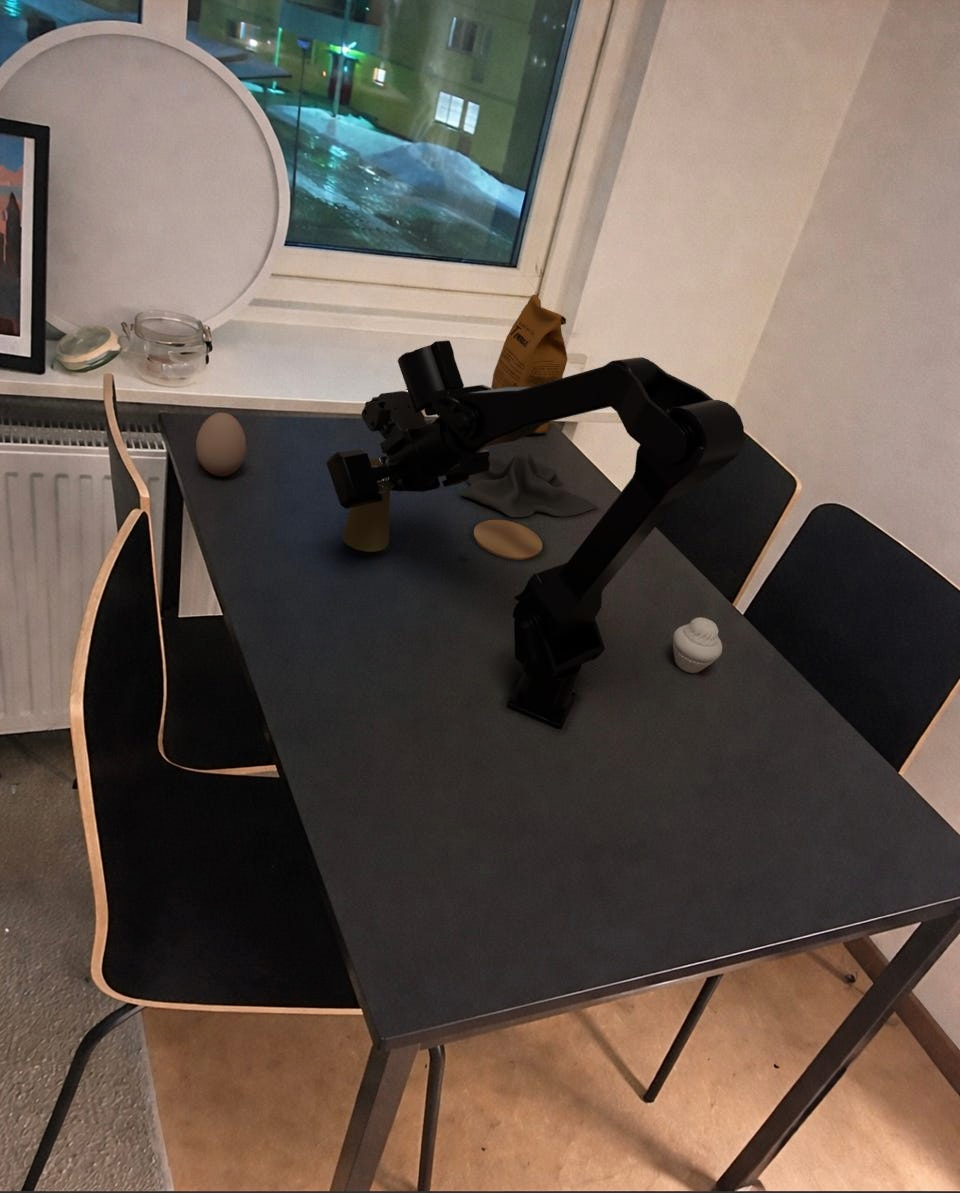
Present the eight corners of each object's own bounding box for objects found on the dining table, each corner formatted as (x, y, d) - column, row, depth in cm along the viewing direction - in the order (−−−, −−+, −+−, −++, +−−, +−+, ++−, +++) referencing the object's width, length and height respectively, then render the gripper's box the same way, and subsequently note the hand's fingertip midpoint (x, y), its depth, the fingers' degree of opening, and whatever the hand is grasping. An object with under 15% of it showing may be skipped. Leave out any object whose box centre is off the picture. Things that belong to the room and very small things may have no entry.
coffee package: (525, 409, 171) (556, 293, 159) (552, 439, 162) (586, 319, 150) (477, 406, 167) (504, 287, 155) (502, 437, 158) (533, 313, 146)
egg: (194, 461, 128) (197, 401, 123) (242, 464, 130) (247, 405, 125) (195, 484, 123) (198, 422, 118) (245, 487, 125) (250, 426, 120)
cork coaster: (529, 568, 124) (530, 565, 124) (462, 542, 126) (463, 540, 125) (550, 538, 132) (550, 536, 132) (487, 514, 134) (488, 512, 134)
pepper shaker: (332, 538, 116) (343, 461, 110) (359, 522, 121) (370, 447, 115) (372, 557, 114) (385, 479, 108) (397, 539, 119) (411, 464, 113)
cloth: (465, 513, 133) (473, 476, 129) (446, 455, 147) (454, 420, 144) (606, 528, 138) (617, 492, 135) (574, 470, 153) (585, 437, 150)
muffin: (682, 684, 109) (702, 638, 105) (654, 652, 114) (672, 607, 110) (721, 677, 112) (742, 633, 108) (692, 647, 116) (711, 603, 113)
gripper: (474, 373, 109) (403, 420, 121) (346, 389, 97) (282, 439, 109) (504, 461, 109) (430, 499, 121) (380, 488, 97) (311, 527, 109)
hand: (366, 489), depth 115 cm, fingers closed on pepper shaker, 5 cm apart
